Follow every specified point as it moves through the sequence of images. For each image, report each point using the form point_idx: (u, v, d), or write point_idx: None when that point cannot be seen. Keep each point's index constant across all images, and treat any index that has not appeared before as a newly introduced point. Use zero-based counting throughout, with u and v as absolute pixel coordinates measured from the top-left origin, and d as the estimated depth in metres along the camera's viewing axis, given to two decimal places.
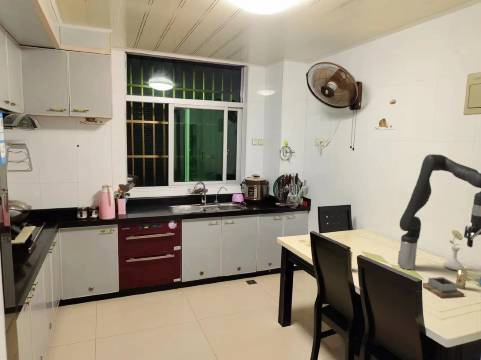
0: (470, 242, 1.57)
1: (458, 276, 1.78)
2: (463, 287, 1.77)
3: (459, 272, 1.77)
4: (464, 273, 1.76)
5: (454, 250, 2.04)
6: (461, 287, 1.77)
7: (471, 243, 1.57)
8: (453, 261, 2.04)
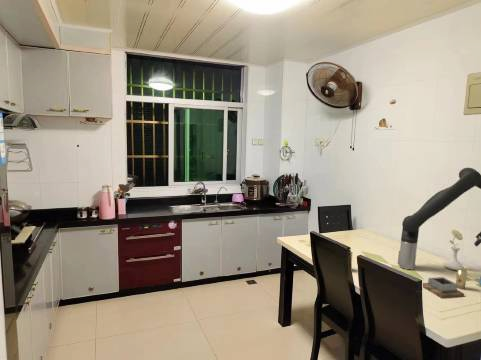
0: None
1: (458, 276, 1.78)
2: (463, 287, 1.77)
3: (459, 272, 1.77)
4: (464, 273, 1.76)
5: (454, 250, 2.04)
6: (461, 287, 1.77)
7: None
8: (453, 261, 2.04)
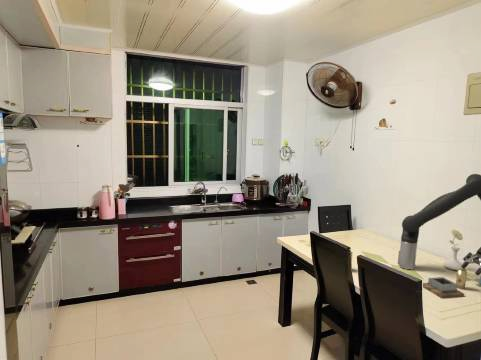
0: None
1: (458, 276, 1.78)
2: (463, 287, 1.77)
3: (459, 272, 1.77)
4: (464, 273, 1.76)
5: (454, 250, 2.04)
6: (461, 287, 1.77)
7: None
8: (453, 261, 2.04)
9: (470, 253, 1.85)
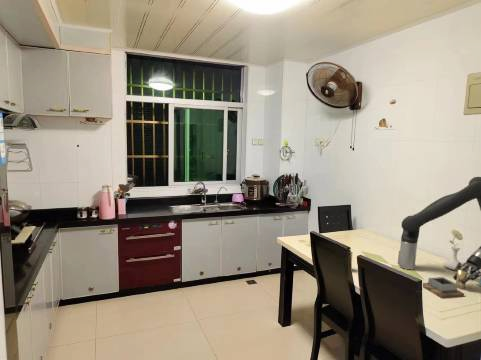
0: None
1: (458, 276, 1.78)
2: (463, 287, 1.77)
3: (459, 272, 1.77)
4: (464, 273, 1.76)
5: (454, 250, 2.04)
6: (461, 287, 1.77)
7: None
8: (453, 261, 2.04)
9: (459, 263, 1.84)
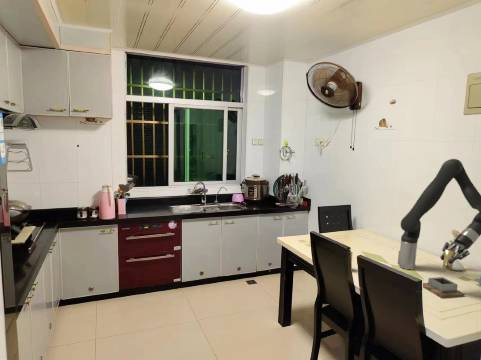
0: None
1: (445, 256, 1.72)
2: (450, 267, 1.71)
3: (446, 252, 1.71)
4: (451, 253, 1.70)
5: None
6: (448, 267, 1.71)
7: None
8: None
9: (447, 243, 1.78)
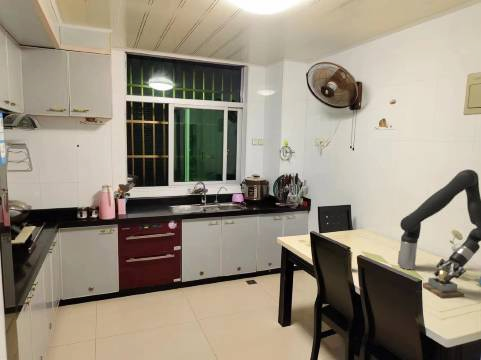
0: None
1: (440, 276, 1.73)
2: None
3: (441, 272, 1.72)
4: (446, 273, 1.71)
5: (454, 250, 2.04)
6: None
7: None
8: None
9: (442, 259, 1.79)
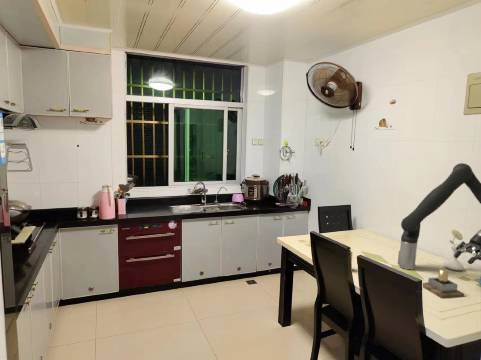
0: None
1: (440, 276, 1.73)
2: None
3: (440, 272, 1.72)
4: (445, 273, 1.71)
5: (454, 250, 2.04)
6: None
7: None
8: (453, 261, 2.04)
9: (463, 242, 1.80)
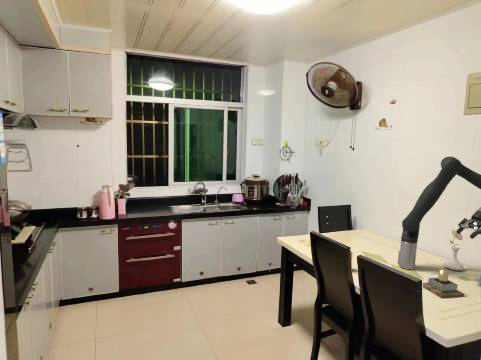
0: None
1: (440, 276, 1.73)
2: None
3: (441, 272, 1.72)
4: (446, 273, 1.71)
5: (454, 250, 2.04)
6: None
7: None
8: (453, 261, 2.04)
9: (465, 219, 1.86)
